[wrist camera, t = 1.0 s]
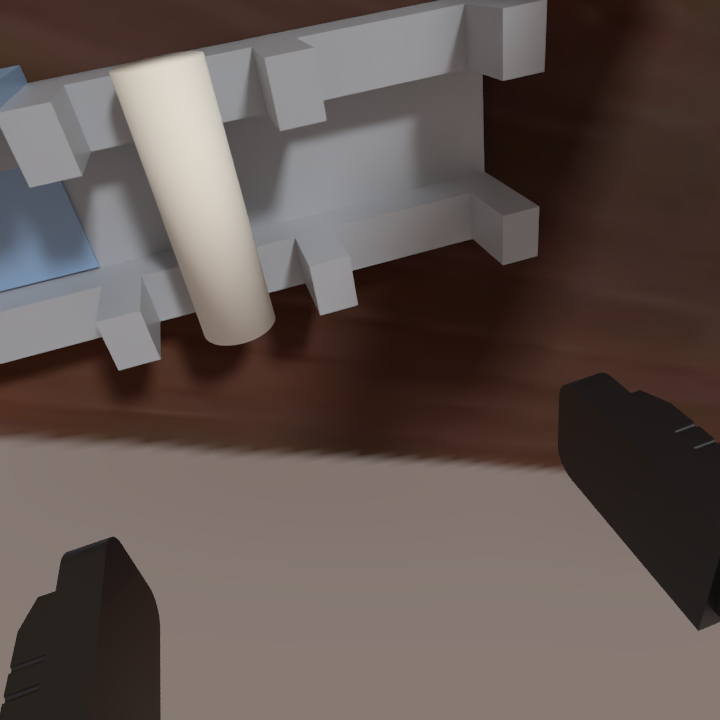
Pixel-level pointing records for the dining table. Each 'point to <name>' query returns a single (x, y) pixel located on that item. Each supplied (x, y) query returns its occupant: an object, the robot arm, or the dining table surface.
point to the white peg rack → (264, 171)
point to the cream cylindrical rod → (197, 191)
